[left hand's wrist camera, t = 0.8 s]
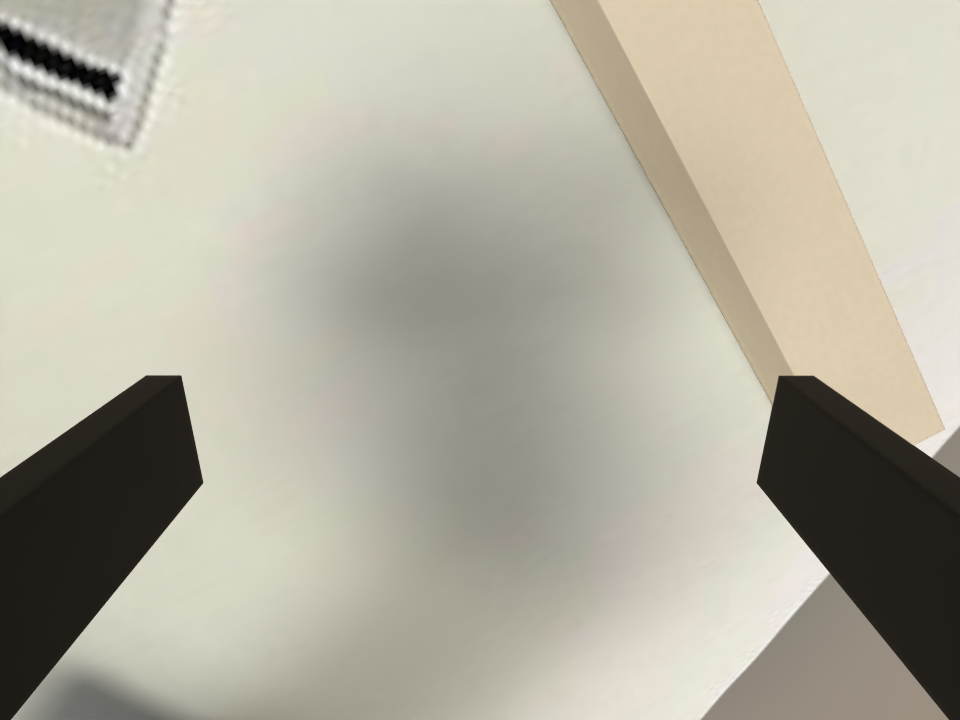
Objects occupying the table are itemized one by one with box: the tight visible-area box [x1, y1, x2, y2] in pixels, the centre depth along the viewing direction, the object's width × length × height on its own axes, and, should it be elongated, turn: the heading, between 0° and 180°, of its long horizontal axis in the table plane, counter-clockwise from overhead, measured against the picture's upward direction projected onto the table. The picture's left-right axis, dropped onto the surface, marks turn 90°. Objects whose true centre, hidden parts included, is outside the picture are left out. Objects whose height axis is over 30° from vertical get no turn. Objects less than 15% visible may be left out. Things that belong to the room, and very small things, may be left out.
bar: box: [551, 0, 945, 445], centre depth 27 cm, size 51×6×8 cm, turn 34°
